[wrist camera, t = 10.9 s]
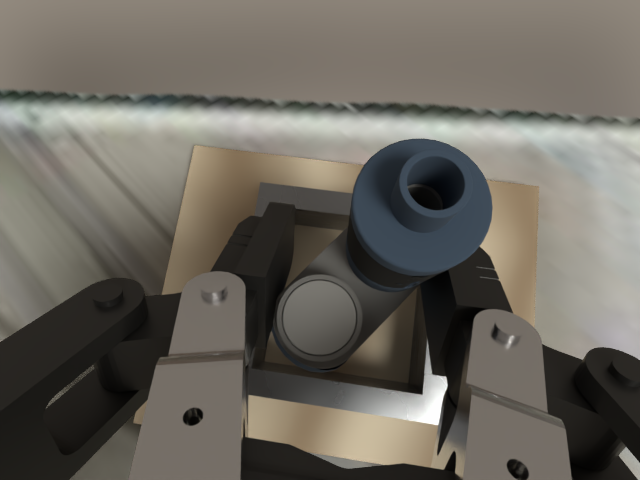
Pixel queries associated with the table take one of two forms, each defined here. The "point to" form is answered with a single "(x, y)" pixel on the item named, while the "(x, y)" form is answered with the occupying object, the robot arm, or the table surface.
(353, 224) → the vaping device
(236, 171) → the mounting board
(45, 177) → the table surface
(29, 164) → the table surface
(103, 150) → the table surface
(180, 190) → the table surface
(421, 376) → the square socket
